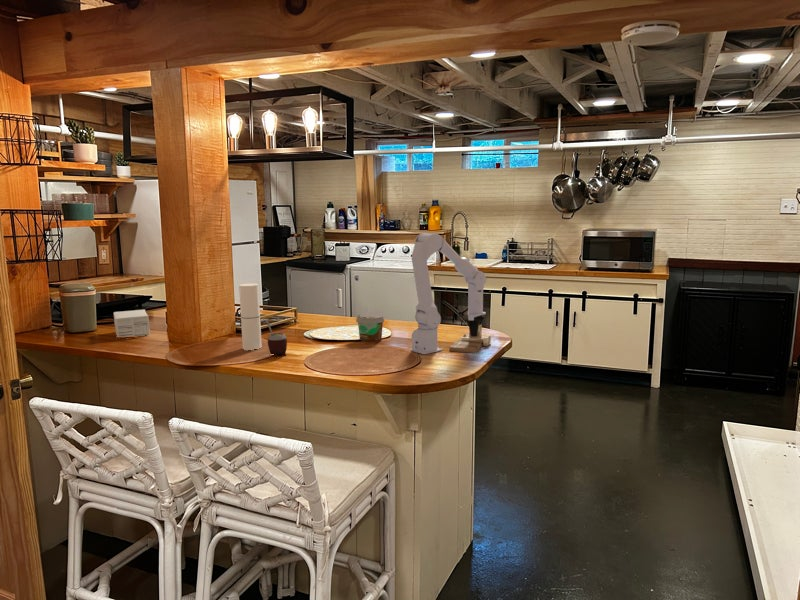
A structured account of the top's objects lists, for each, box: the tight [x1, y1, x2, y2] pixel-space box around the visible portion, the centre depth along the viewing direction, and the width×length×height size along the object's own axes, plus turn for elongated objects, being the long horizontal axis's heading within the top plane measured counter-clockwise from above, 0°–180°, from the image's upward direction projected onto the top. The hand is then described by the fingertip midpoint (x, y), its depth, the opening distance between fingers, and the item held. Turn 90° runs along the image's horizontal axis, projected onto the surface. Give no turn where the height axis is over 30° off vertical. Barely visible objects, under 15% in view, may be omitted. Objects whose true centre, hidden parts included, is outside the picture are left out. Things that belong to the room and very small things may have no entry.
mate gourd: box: [261, 317, 288, 358], centre depth 214 cm, size 8×8×15 cm
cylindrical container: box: [238, 283, 263, 351], centre depth 225 cm, size 7×7×25 cm
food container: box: [355, 314, 385, 343], centre depth 236 cm, size 12×6×10 cm, turn 62°
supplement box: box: [113, 309, 151, 338], centre depth 255 cm, size 17×13×9 cm
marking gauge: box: [460, 323, 492, 347], centre depth 228 cm, size 6×11×7 cm, turn 68°
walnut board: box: [449, 336, 484, 354], centre depth 226 cm, size 20×10×2 cm, turn 159°
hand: (475, 335), depth 228 cm, fingers closed on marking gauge, 4 cm apart
